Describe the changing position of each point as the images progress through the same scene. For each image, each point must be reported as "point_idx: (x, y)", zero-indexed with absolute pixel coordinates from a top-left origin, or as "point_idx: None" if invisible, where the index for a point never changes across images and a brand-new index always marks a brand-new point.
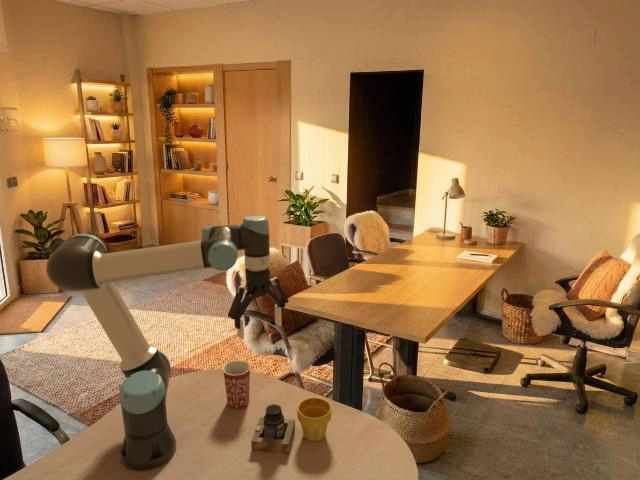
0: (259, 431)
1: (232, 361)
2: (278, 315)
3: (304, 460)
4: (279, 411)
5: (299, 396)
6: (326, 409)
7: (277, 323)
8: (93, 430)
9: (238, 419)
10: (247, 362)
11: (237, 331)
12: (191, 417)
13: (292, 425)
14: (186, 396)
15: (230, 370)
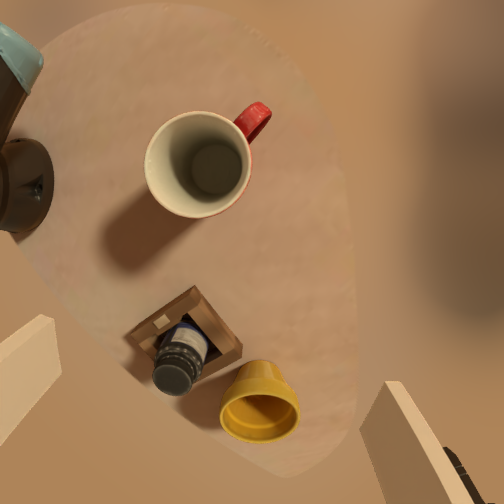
0: (158, 328)
1: (213, 115)
2: (390, 487)
3: (197, 400)
4: (177, 395)
5: (341, 270)
6: (291, 412)
7: (375, 417)
8: None
9: (173, 226)
10: (251, 164)
11: (19, 330)
12: (107, 141)
13: (224, 365)
14: (147, 63)
15: (202, 126)
